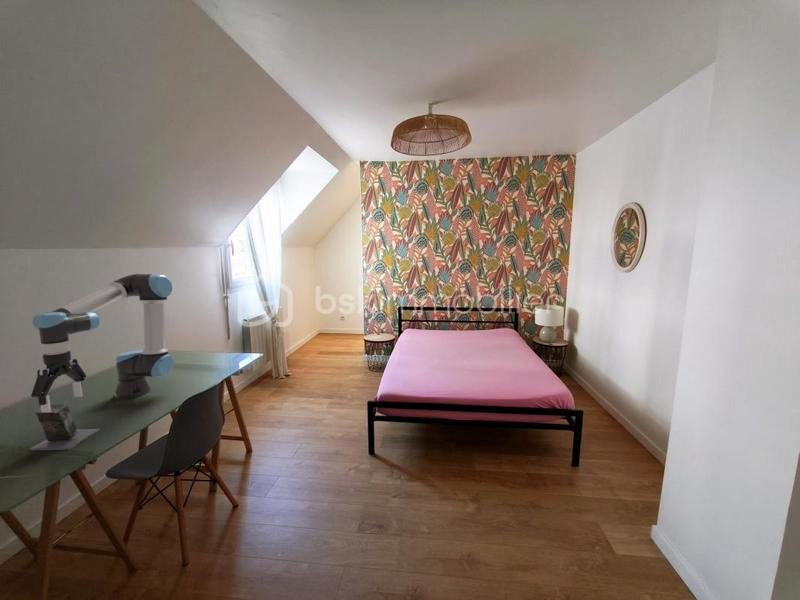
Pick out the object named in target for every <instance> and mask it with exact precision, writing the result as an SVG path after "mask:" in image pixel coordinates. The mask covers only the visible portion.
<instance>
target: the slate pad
mask: <svg viewBox="0 0 800 600" xmlns="http://www.w3.org/2000/svg"><path fill="white" fill-rule="evenodd" d="M76 429H77V432H78V433H77V434H76V435H75V436H74V437H72V438H71V439H69V440H59V441H47V439H45V440H42V441H41V442H39V443H38V444H36V445H33V446H32V447H30V448H29V451H61V450H62V451H63V450H64V451H65V450H67V451H68V450H71V449H73V448H74V447H77V446H78V445H79V444H81V443H82V442H83V440H84V441H85V439H86V440H87V439H88V437H89V436H90V437H92V436H93V435H94V434H95V435H96V433H98V432H100V430H101V429H100V428H76ZM91 435H92V436H91ZM90 437H89V438H90ZM81 441H82V442H81ZM80 442H81V443H80ZM77 444H78V445H77Z"/></svg>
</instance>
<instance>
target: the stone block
mask: <svg viewBox="0 0 800 600" xmlns="http://www.w3.org/2000/svg"><path fill="white" fill-rule="evenodd" d="M50 406H51V412H41V408H39V409H37V411H35V413H34V414H35V416H37V420H38V422H39V424H40V425H41V427H42V430H43V434H44V436H45V438H46V439H47V441H59V440H69V439H71V438H72V437H74V436H75V435H76V434H77V433H78V432H77V429H78V428H77V427H76V424H75V421H74V419H73V416H72V413H71V411H70V408H69V404H60V403H59V404H58V403H57V404H56V403H50ZM46 439H45V440H46Z"/></svg>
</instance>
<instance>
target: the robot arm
mask: <svg viewBox="0 0 800 600" xmlns="http://www.w3.org/2000/svg"><path fill="white" fill-rule="evenodd" d="M172 292H173V283H172V282H171V280H170V279H169V278H168V276H166V275H163V274H158V273H157V274H156V273H153V274H149V273H148V274H145V273H134V274H129V275H126V276H123V277H120V278H118V279H116V280H114V281H111V282H109V283H108V285H107V286H106V287H103V288H100V289H99V290H97V291H94V292H92V293H90V294H88V295H86V296H83V297H81V298H79V299H76V300H75V301H72V302H71V303H68V304H66V305H64V306H62V307H59V308H57V309H54V310H52V311H45V312H39V313H37V314H35V316H33V317H32V322H31V323H32V326H33V327H34V328H35V329H37V330H38V332H39V337H40V345H41V352H42V353H41V354H43V355H42V360H43V361H42V362H43V364H44V365H45V368H44V369H37V372H36V373H37V375H36V380H35V382H34V386H33V389H32V392H31V395H30V396H31V398H37V399H38V405H39V406H40V409H41V412H51V406H50V404H51V402H50V401H51V400H50V395H49V394H48V393H49V391H50V389H51V388H52V385H53V384H54V382H55V380H57V379H58V377H61V376H63V375H65V376H68V377H69V379H72V380H73V381H72V389H73V391H72V392H73V396H74V398H81V397H83V396H84V394H83V381H85V378H87V374H86V373H85V372H84V370H83V368H81V366H80V364H79V363H78V359H77V358H72V355H71V354H72V353H71V345H70V338H69V335H73V334H77V333H83V332H87V331H88V332H89V331H91V330H95V329H97V328H98V327H99V326H100V323H101V322H100V321H101V320H100V317H99V316H98V314H97V313H95V312H96V311H98V310H100V309H102V308H104V307H106V306H108V305H110V304H112V303H114V302H115V301H118V300H119V301H120V300H124V299H127V298H130V297H138V299H139V301H140V302H141V303H142V305H143V307H142V308H143V336H144V337H143V338H144V349H137V350H131V351H126V352H122V353H120V354H118V355H117V356H116V361H115V363H116V364H115V365H116V370H117V371H116V372H117V380H118V383H117V385H116V390H115V392H114V397H115V399H118V400H128V399H135V398H139V397H141V396H144V395H146V393H147V394H149V393H150V392H151V391H152V385H151V384H150V382H149V380H148V378H147V377H151V378H152V377H153V378H162V377H166V376H167V375H169V373H170V372H171V371H172V370H173V368H174V365H175V358H174V356H173V355H172V354H169V349H168V348H166V341H165V340H166V339H165V309H164V308H165V307H164V306H165V304H164V303H165V302H167V300H168V297H169V296H170V295H171V294H172Z"/></svg>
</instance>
